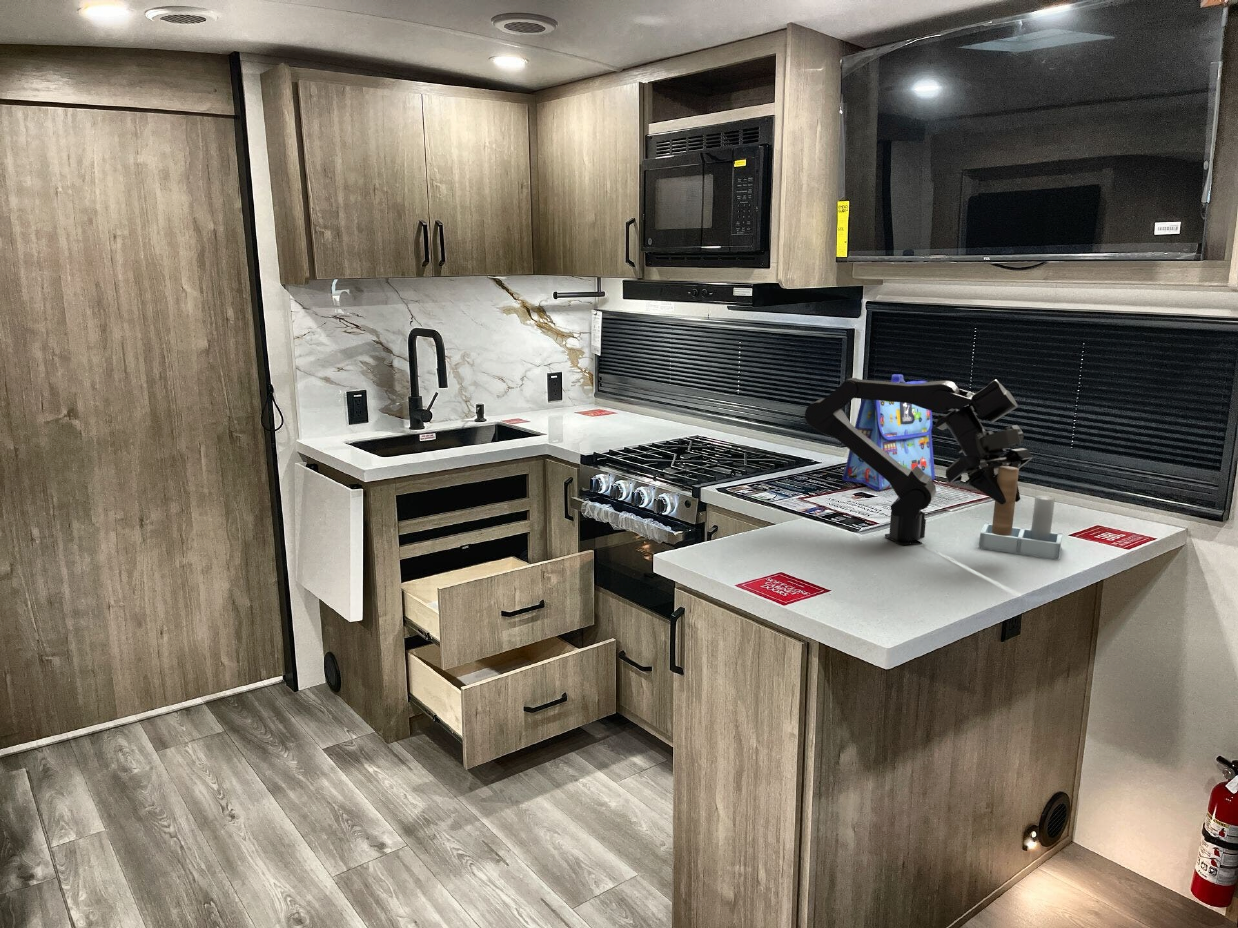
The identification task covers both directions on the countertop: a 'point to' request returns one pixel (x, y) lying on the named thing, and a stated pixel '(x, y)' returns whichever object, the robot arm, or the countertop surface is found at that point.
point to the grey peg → (1042, 518)
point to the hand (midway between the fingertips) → (1011, 502)
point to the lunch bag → (893, 438)
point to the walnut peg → (1006, 511)
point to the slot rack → (1021, 543)
